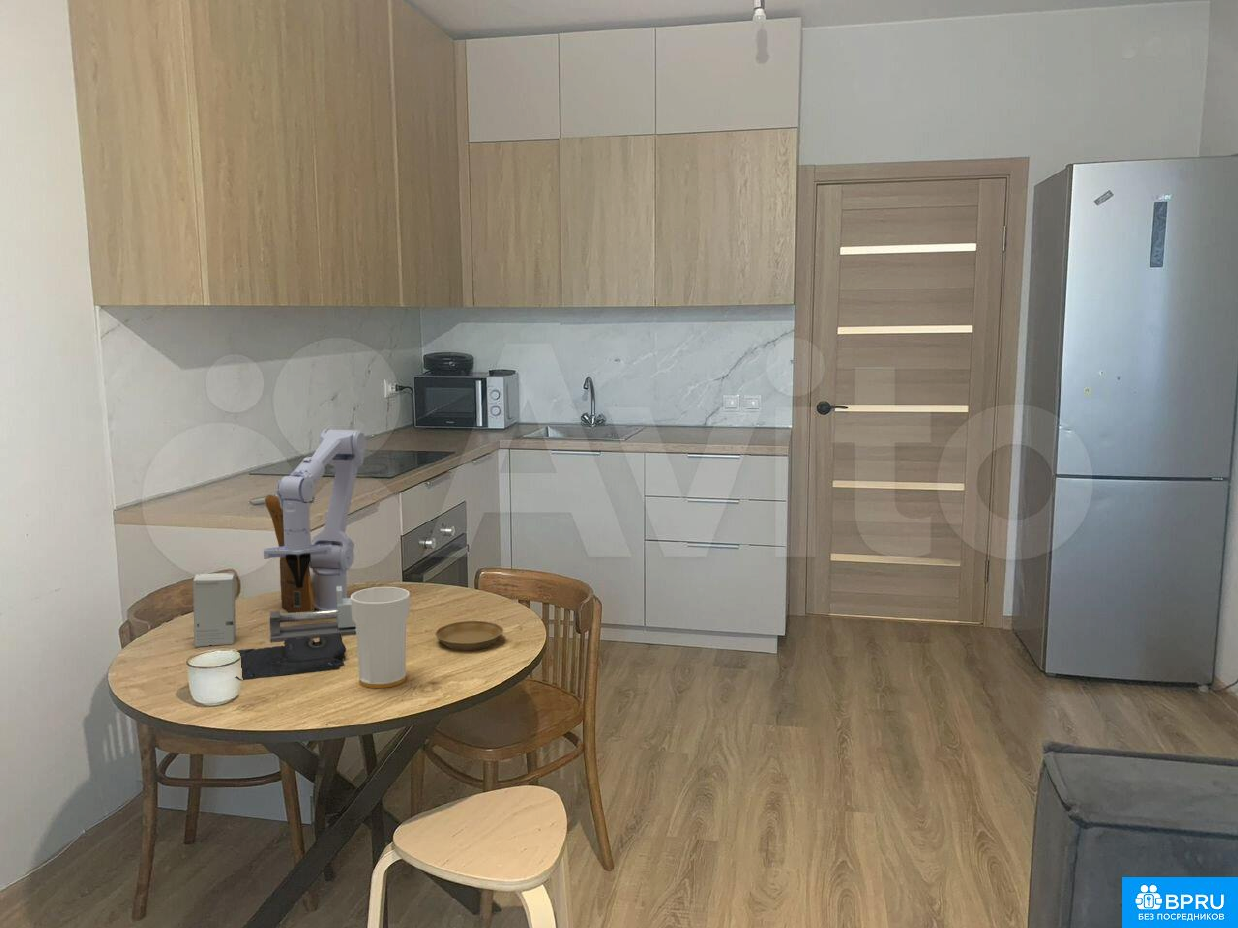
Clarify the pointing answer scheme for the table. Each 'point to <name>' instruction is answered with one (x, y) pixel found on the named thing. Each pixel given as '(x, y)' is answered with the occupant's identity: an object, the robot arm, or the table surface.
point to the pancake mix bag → (290, 594)
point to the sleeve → (344, 610)
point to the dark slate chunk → (294, 657)
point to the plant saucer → (469, 634)
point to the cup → (381, 635)
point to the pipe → (297, 618)
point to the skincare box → (214, 609)
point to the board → (311, 631)
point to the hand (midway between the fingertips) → (299, 586)
